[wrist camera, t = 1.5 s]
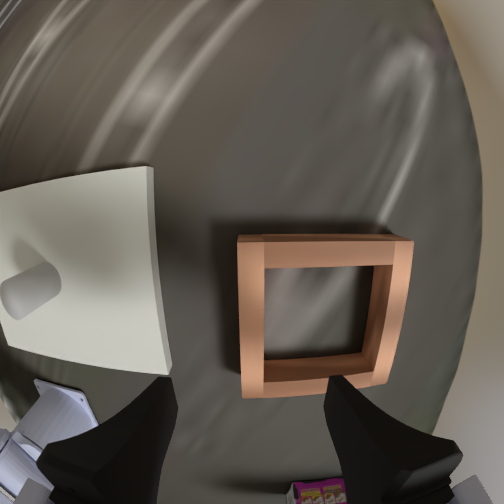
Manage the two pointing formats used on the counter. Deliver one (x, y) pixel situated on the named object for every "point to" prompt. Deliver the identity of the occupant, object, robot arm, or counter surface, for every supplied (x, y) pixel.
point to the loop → (321, 255)
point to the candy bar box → (317, 492)
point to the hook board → (84, 271)
